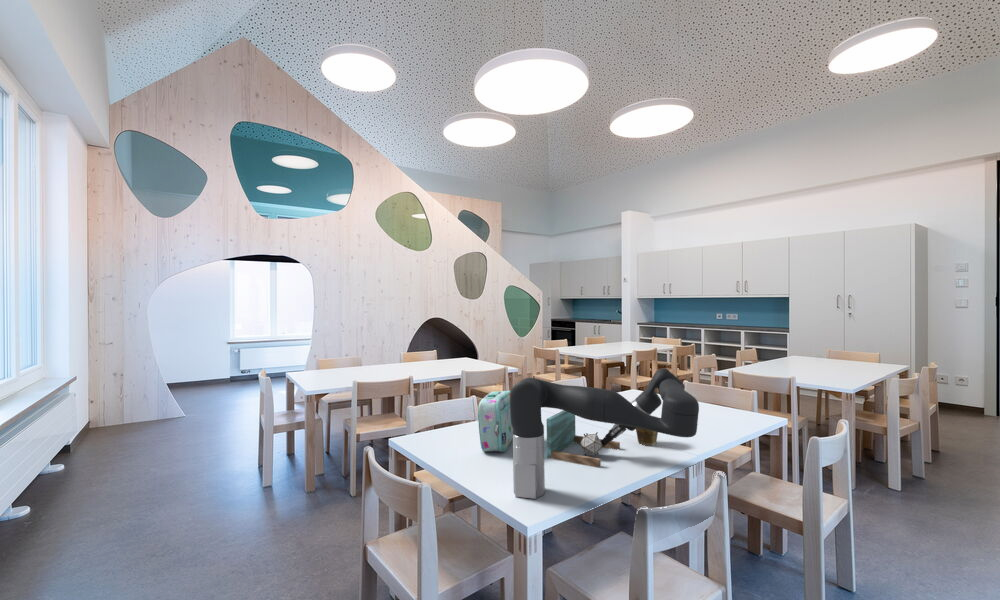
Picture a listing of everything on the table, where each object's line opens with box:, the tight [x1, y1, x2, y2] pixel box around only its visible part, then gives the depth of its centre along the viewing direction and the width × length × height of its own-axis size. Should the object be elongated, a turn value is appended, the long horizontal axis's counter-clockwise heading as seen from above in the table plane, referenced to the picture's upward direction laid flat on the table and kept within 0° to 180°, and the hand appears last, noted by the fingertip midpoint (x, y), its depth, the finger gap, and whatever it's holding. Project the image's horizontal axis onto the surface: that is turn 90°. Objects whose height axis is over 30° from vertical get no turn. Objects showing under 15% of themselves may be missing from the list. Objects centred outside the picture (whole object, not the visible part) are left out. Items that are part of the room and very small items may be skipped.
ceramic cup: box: [635, 415, 659, 447], centre depth 179 cm, size 13×10×10 cm
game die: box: [577, 431, 605, 457], centre depth 164 cm, size 9×8×10 cm
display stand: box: [546, 410, 621, 468], centre depth 168 cm, size 20×23×14 cm
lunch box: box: [477, 390, 513, 453], centre depth 178 cm, size 27×10×21 cm, turn 168°
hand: (601, 444), depth 165 cm, fingers closed
